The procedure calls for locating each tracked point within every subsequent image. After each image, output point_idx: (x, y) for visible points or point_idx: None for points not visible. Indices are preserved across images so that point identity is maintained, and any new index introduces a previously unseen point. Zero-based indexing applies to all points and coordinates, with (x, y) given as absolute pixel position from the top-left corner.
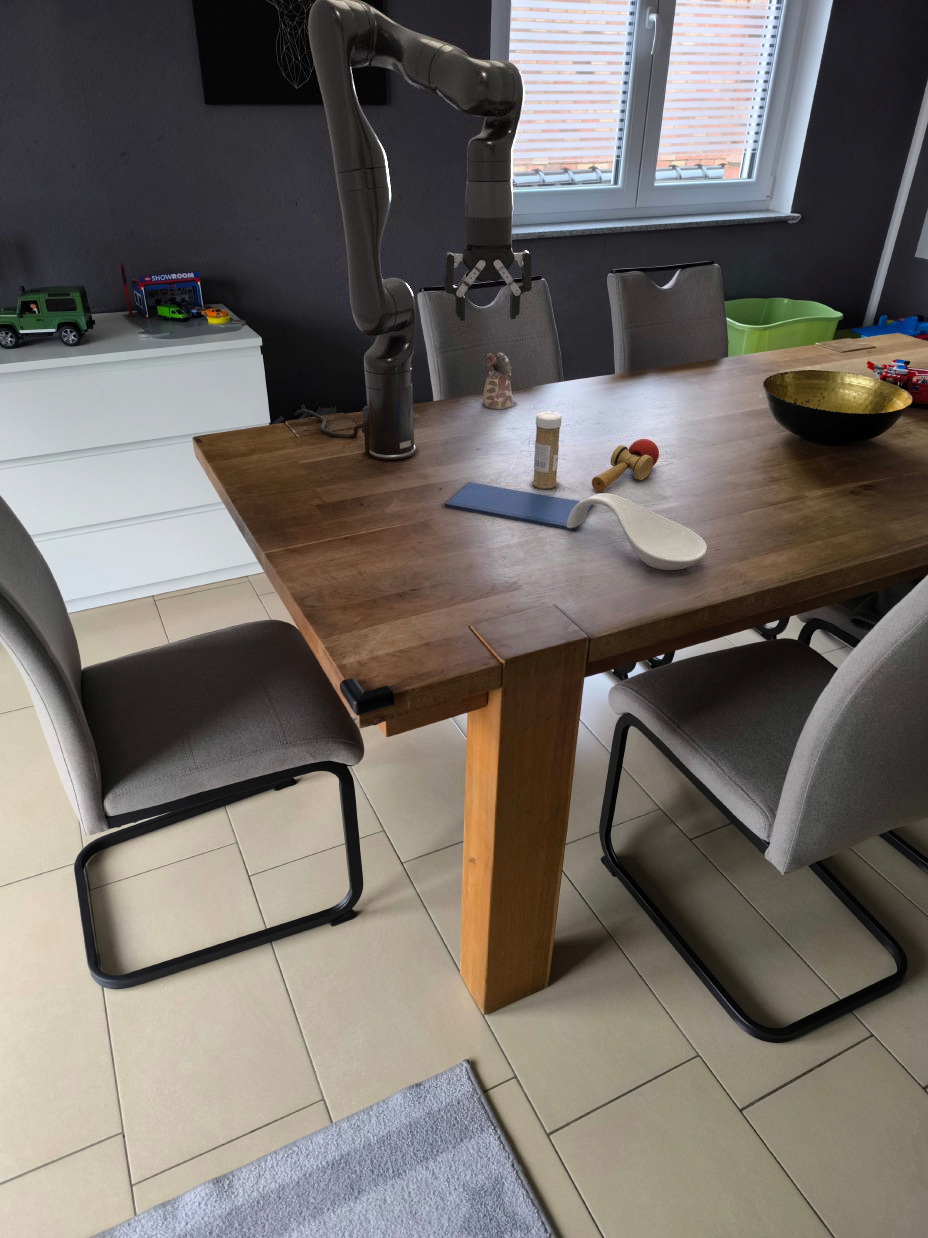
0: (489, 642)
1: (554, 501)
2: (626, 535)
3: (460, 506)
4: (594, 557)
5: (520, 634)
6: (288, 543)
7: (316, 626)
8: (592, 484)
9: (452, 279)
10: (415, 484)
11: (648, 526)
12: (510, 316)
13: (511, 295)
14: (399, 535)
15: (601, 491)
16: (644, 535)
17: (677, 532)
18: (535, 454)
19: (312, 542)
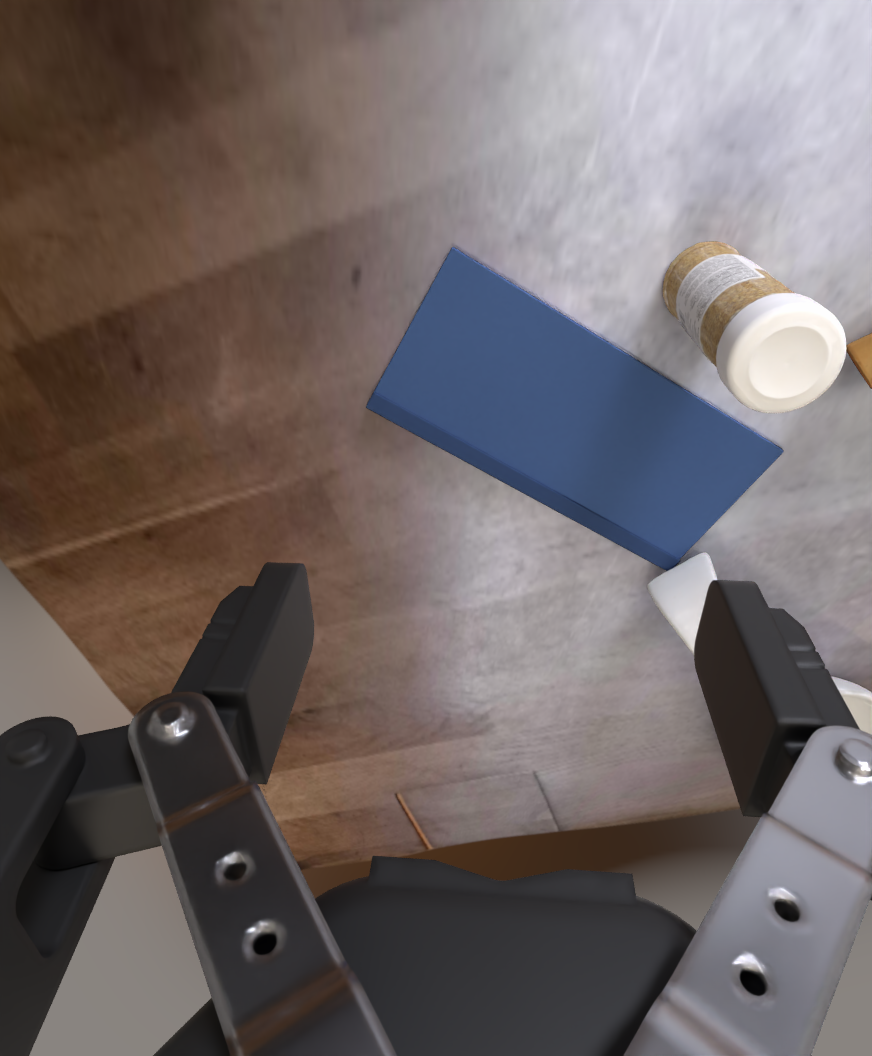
0: (420, 822)
1: (680, 424)
2: None
3: (408, 430)
4: (662, 667)
5: (466, 816)
6: (32, 539)
7: None
8: (846, 349)
9: (64, 957)
10: (273, 226)
11: None
12: (706, 615)
13: (754, 781)
14: (263, 536)
15: (858, 368)
16: None
17: (861, 699)
18: (688, 320)
19: (81, 541)
